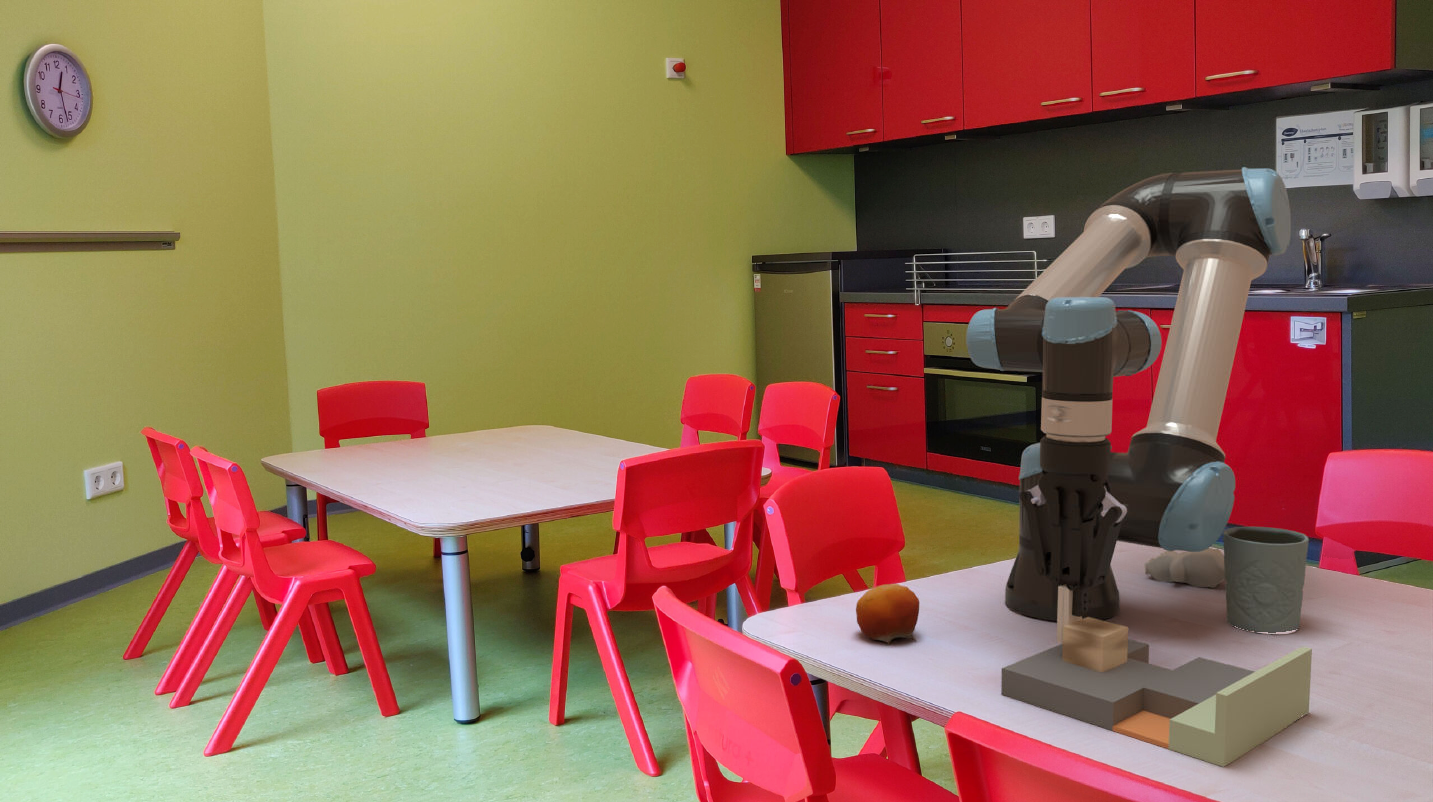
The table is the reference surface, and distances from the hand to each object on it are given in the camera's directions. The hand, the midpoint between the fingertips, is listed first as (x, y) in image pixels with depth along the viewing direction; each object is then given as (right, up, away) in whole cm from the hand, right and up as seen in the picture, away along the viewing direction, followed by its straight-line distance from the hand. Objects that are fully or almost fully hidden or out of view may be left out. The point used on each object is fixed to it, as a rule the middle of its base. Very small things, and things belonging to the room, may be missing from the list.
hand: (1068, 640), depth 131 cm
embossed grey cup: (+31, -2, +19) cm, 37 cm away
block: (+2, -2, -2) cm, 4 cm away
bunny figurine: (+31, 0, +38) cm, 49 cm away
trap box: (+7, -5, -7) cm, 11 cm away
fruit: (-18, -3, +17) cm, 25 cm away
